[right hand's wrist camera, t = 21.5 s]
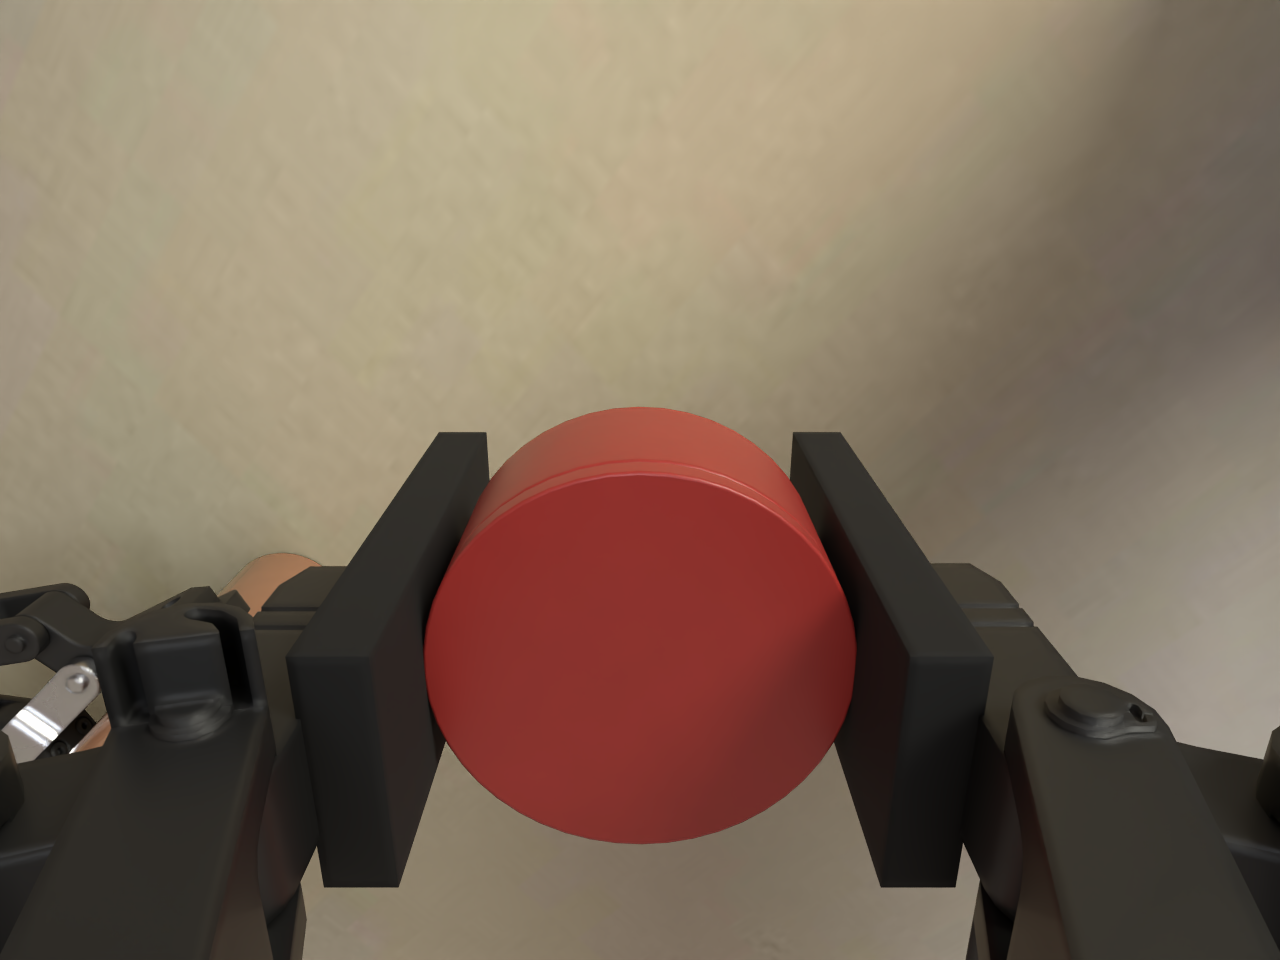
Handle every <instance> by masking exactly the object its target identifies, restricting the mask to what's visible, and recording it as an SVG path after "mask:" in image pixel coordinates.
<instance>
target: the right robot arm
mask: <svg viewBox="0 0 1280 960" xmlns="http://www.w3.org/2000/svg"><path fill="white" fill-rule="evenodd" d="M790 481H791V483H792V484H793V486H794V487H795V489H796V490H797V492H798V493H799V495H800V497H801V499H802V501H803V504H804V506H805V508H806V510H807V512H808V514H809V516H810V519H811V521H812V523H813V525H814V527H815V530H816V532H817V534H818V536H819V538H820V541H821V543H822V545H823V547H824V549H825V552H826V554H827V556H828V558H829V561H830V563H831V565H832V567H833V569H834V572H835V574H836V576H837V578H838V580H839V583H840V585H841V587H842V589H843V592H844V594H845V596H846V598H847V601H848V605H849V608H850V611H851V615H852V618H853V621H854V627H855V635H856V642H857V653H856V664H855V674H854V683H853V692H852V699H851V702H850V705H849V708H848V712H847V715H846V718H845V720H844V722H843V724H842V726H841V728H840V731H839V733H838V735H837V737H836V739H835V741H834V743H835V747H836V750H837V753H838V756H839V759H840V762H841V765H842V768H843V771H844V774H845V778H846V781H847V784H848V787H849V790H850V793H851V796H852V799H853V802H854V806H855V809H856V812H857V815H858V818H859V821H860V824H861V827H862V830H863V833H864V837H865V840H866V843H867V846H868V849H869V852H870V855H871V858H872V861H873V864H874V868H875V871H876V874H877V877H878V880H879V883H880V886H881V887H956V881H957V875H958V869H959V863H960V857H961V851H962V845H963V843H964V845H965V847H966V850H967V852H968V854H969V856H970V858H971V860H972V863H973V865H974V867H975V869H976V871H977V874H978V876H979V878H980V883H979V888H978V894H977V899H976V905H975V910H974V916H973V921H972V927H971V932H970V938H969V944H968V949H967V955H966V960H1280V726H1279V727H1278V728H1276V729H1275V730H1274V731H1272V734H1271V737H1270V740H1269V744H1268V747H1267V750H1266V753H1265V757H1264V760H1263V759H1258V758H1252V757H1247V756H1242V755H1237V754H1232V753H1227V752H1221V751H1216V750H1211V749H1206V748H1201V747H1195V746H1191V745H1187V744H1183V743H1179V742H1176V740H1175V738H1174V736H1173V734H1172V732H1171V730H1170V728H1169V726H1168V725H1167V724H1166V723H1165V722H1164V720H1163V719H1162V718H1161V717H1160V715H1159V714H1158V713H1157V712H1156V711H1155V710H1154V709H1153V708H1151V707H1150V706H1148V705H1147V704H1145V703H1144V702H1142V701H1141V700H1140V699H1138V698H1137V697H1135V696H1134V695H1132V694H1130V693H1127V692H1125V691H1122V690H1120V689H1118V688H1115V687H1113V686H1110V685H1108V684H1106V683H1102V682H1098V681H1093V680H1089V679H1084V678H1080V677H1078V676H1077V675H1076V674H1075V672H1074V671H1073V670H1072V669H1071V667H1070V666H1069V665H1068V664H1067V663H1066V661H1065V660H1064V659H1063V658H1062V656H1061V655H1060V654H1059V653H1058V651H1057V650H1056V649H1055V648H1054V647H1053V645H1052V644H1051V643H1050V642H1049V640H1048V639H1047V638H1046V637H1045V636H1044V634H1043V633H1042V632H1041V631H1040V629H1039V628H1038V627H1034V625H1033V621H1032V620H1031V618H1030V617H1029V616H1028V615H1027V614H1026V612H1025V611H1024V610H1023V609H1022V608H1019V604H1018V602H1017V601H1016V600H1015V599H1014V598H1013V596H1012V595H1011V594H1010V593H1009V591H1008V590H1007V589H1006V588H1005V587H1004V585H1003V584H1002V583H1001V582H1000V581H998V580H996V579H995V578H993V577H991V576H990V575H988V574H986V573H985V572H983V571H981V570H980V569H978V568H976V567H975V566H973V565H971V564H930V562H929V561H928V559H927V558H926V556H925V555H924V554H923V552H922V551H921V549H920V548H919V546H918V545H917V543H916V542H915V540H914V539H913V538H912V536H911V535H910V533H909V532H908V530H907V529H906V527H905V526H904V524H903V523H902V521H901V520H900V519H899V517H898V516H897V514H896V513H895V511H894V510H893V508H892V507H891V505H890V504H889V503H888V501H887V500H886V498H885V497H884V495H883V494H882V492H881V491H880V489H879V488H878V486H877V485H876V484H875V482H874V481H873V479H872V478H871V476H870V475H869V473H868V472H867V470H866V469H865V468H864V466H863V465H862V463H861V462H860V460H859V459H858V457H857V456H856V454H855V453H854V451H853V450H852V449H851V447H850V446H849V444H848V443H847V441H846V440H845V438H844V437H843V435H842V434H841V433H840V432H793V441H792V457H791V472H790ZM488 483H489V465H488V450H487V435H486V432H439V433H438V435H437V436H436V437H435V439H434V440H433V442H432V443H431V445H430V446H429V448H428V449H427V451H426V452H425V454H424V455H423V456H422V458H421V459H420V461H419V462H418V464H417V465H416V467H415V468H414V470H413V471H412V472H411V474H410V475H409V477H408V478H407V480H406V481H405V483H404V484H403V486H402V487H401V489H400V490H399V491H398V493H397V494H396V496H395V497H394V499H393V500H392V502H391V503H390V505H389V506H388V507H387V509H386V510H385V512H384V513H383V515H382V516H381V518H380V519H379V521H378V522H377V524H376V525H375V526H374V528H373V529H372V531H371V532H370V534H369V535H368V537H367V538H366V540H365V541H364V542H363V544H362V545H361V547H360V548H359V550H358V551H357V553H356V554H355V556H354V557H353V559H352V560H351V561H350V563H349V564H348V566H310V567H308V568H307V569H305V570H303V571H302V572H300V573H298V574H297V575H295V576H293V577H292V578H290V579H288V580H287V581H285V582H283V583H282V584H280V585H279V586H278V587H277V588H276V589H275V591H274V592H273V593H272V594H271V596H270V597H269V598H268V599H267V601H266V602H265V603H264V604H263V605H262V607H261V611H258V612H257V613H256V614H255V615H254V617H252V616H251V615H250V614H249V613H247V612H246V611H245V610H243V609H242V608H240V607H237V606H233V605H228V604H223V603H218V602H216V603H188V604H183V605H178V606H173V607H167V608H162V609H158V610H155V611H152V612H150V613H147V614H144V615H141V616H138V617H135V618H133V619H130V620H128V621H126V622H125V623H123V624H121V625H119V626H118V627H116V628H114V629H112V630H111V631H109V632H107V633H106V634H105V635H104V636H103V637H102V638H101V639H100V640H99V641H98V642H97V643H96V644H95V645H94V646H93V647H92V648H91V652H92V656H93V660H94V664H95V667H96V671H97V675H98V679H99V683H100V687H101V691H102V694H103V698H104V702H105V706H106V710H107V714H108V717H109V721H110V725H111V730H110V732H109V734H108V736H107V738H106V740H105V742H104V744H103V746H100V747H96V748H92V749H88V750H84V751H79V752H74V753H69V754H63V755H58V756H53V757H48V758H43V759H38V760H33V761H27V762H22V763H17V762H16V759H15V756H14V753H13V749H12V746H11V743H10V740H9V736H8V735H7V734H5V733H4V732H3V731H1V730H0V960H302V954H303V946H304V938H305V929H306V921H307V919H306V912H305V905H304V899H303V894H302V888H301V883H300V881H301V879H302V877H303V875H304V872H305V870H306V868H307V866H308V864H309V862H310V859H311V857H312V855H313V853H314V851H315V848H316V846H317V848H318V854H319V860H320V866H321V872H322V878H323V884H324V887H399V884H400V881H401V878H402V875H403V872H404V869H405V866H406V863H407V860H408V857H409V853H410V850H411V847H412V844H413V841H414V838H415V835H416V832H417V829H418V825H419V822H420V819H421V816H422V813H423V810H424V807H425V804H426V801H427V798H428V794H429V791H430V788H431V785H432V782H433V779H434V776H435V773H436V770H437V767H438V763H439V760H440V757H441V754H442V751H443V748H444V745H445V742H446V740H445V738H444V736H443V734H442V732H441V730H440V728H439V726H438V724H437V722H436V719H435V716H434V714H433V711H432V708H431V705H430V702H429V699H428V694H427V688H426V679H425V669H424V657H423V645H424V637H425V628H426V623H427V620H428V616H429V613H430V609H431V605H432V602H433V599H434V597H435V595H436V593H437V591H438V588H439V586H440V584H441V582H442V579H443V577H444V575H445V573H446V571H447V568H448V566H449V564H450V562H451V559H452V557H453V555H454V553H455V550H456V548H457V546H458V544H459V542H460V539H461V537H462V535H463V533H464V530H465V528H466V526H467V524H468V522H469V519H470V517H471V515H472V513H473V510H474V508H475V506H476V504H477V502H478V499H479V497H480V495H481V494H482V492H483V491H484V489H485V488H486V486H487V485H488Z"/></svg>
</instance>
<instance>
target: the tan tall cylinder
mask: <svg viewBox="0 0 1280 960" xmlns="http://www.w3.org/2000/svg"><path fill="white" fill-rule="evenodd" d="M310 566H321V565H319V564H318V563H316V562H314V561H312V560H310V559H308V558H305V557H302V556H299V555H295V554H287V553H276V554H269V555H265V556H262V557H259V558H257V559H255V560H253V561H251V562H250V563H248V564H247V565H246V566H245V567H244V568H243V569H242V570H241V571H240V572H239V573H238V574H237V575H236V576H235V577H234V578H233V579H232V580H231V581H230V582H229V583H228V585H227V586H226V587H225V588H224V589H223V590H222V591H221V592H220V593H219V594H218V595H217V597H219V596H221V595H223V594H225V593H227V592H230V591H232V590H237V591H238V592H239V594H240V595H241V596H242V598H243V599H244V600H245V602H246V603H247V604H248V606H249V607H250V611H249V612H248V613H249V614H250V615H251V616H252V617H254V615H255V614H256V613H257V612H258V611H261V607H262V605H263V604H264V603H265V602H266V601H267V599H268V598H269V597H270V596H271V594H272V593H273V592H274V591H275V589H276V588H277V587H278V586H279V585H280V584H282V583H283V582H285V581H287V580H288V579H290V578H292V577H293V576H295V575H297V574H298V573H300V572H302V571H303V570H305V569H307V568H308V567H310ZM110 730H111V725H110V721H109V717H108V714H107V713H106V714H105V715H104V716H103V717H102V718H101V719H100V720H99V721H98V722H97V724H96V725H95V726H94V727H93V728H92V729H91V730H90V731H89V732H88V733H87V734H86V735H85V736H84V737H83V738H82V739H81V741H80V742H79V743H78V744H77V745H76V746H75V747H74V748H73V749H72V750H71V751H70V752H69V753H74V752H79V751H84V750H88V749H92V748H96V747H100V746H103V744H104V742H105V740H106V738H107V736H108V734H109V732H110ZM69 753H68V754H69Z"/></svg>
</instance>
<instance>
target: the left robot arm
mask: <svg viewBox="0 0 1280 960" xmlns="http://www.w3.org/2000/svg"><path fill="white" fill-rule="evenodd" d="M216 602H218V603H223V604H228V605H233V606H237V607H240V608H242V609H243V610H245V611H246V612H247V613H248V612H249V611H250V607H249V606H248V604H247V603H246V602H245V600H244V599H243V598H242V596H241V595H240V594H239V592H238V591H237V590H232V591H230V592H227V593H225V594H223V595H221V596H219V597H217V595H216V594H215V593H214V592H213V590H212V589H211V588H210V586H207V587H194V588H190V589H188V590H186V591H184V592H182V593H180V594H178V595H176V596H175V597H172V598H170V599H168V600H166V601H164V602H162V603H160V604H158V605H156V606H154V607H152V608H150V609H148V610H146V611H144V612H142V613H139V614H137V615H135V616H133V617H131V618H129V619H127V620H124V621H110V620H106V619H104V618H102V617H100V616H98V615H97V614H95V613H94V612H92V611H91V610H89V609H90V601H89V598H88V596H87V594H86V593H85V592H84V591H83V590H82V589H81V588H79V587H77V586H75V585H73V584H69V583H61V584H55V585H49V586H43V587H37V588H31V589H24V590H18V591H12V592H6V593H0V666H2V665H8V664H15V663H21V662H27V661H30V660H32V659H34V658H35V659H36V660H38V661H39V662H41V663H42V664H44V665H46V666H47V667H49V668H50V669H52V670H53V671H55V672H56V674H55V675H54V676H53V677H52V679H51V680H50V681H49V682H48V683H47V684H46V685H45V686H44V687H43V688H42V689H41V690H40V691H39V692H38V693H37V694H36V696H35V697H34V698H33V699H30V698H23V697H15V696H8V695H1V694H0V730H1V731H3V732H4V733H5V734H7V735H8V736H9V740H10V743H11V746H12V749H13V753H14V756H15V759H16V762H17V763H22V762H27V761H33V760H38V759H43V758H48V757H53V756H58V755H63V754H68V753H69V752H70V751H71V750H72V749H73V748H74V747H75V746H76V745H77V744H78V743H79V742H80V741H81V739H82V738H83V737H84V736H85V735H86V734H87V733H88V732H89V731H90V730H91V729H92V728H93V727H94V726H95V725H96V724H97V723H96V722H95V721H94V720H93V719H92V717H91V716H90V715H89V714H88V713H87V712H86V711H85V708H86V707H87V706H88V705H89V704H90V703H91V702H92V701H93V700H94V699H95V698H96V697H97V696H98V695H99V694H100V693H101V692H102V691H101V687H100V683H99V679H98V675H97V671H96V667H95V664H94V660H93V656H92V652H91V648H92V647H93V646H94V645H95V644H96V643H97V642H98V641H99V640H100V639H101V638H102V637H103V636H104V635H105V634H106V633H107V632H109V631H111V630H112V629H114V628H116V627H118V626H119V625H121V624H123V623H125V622H126V621H128V620H130V619H133V618H135V617H138V616H141V615H144V614H147V613H150V612H152V611H155V610H158V609H162V608H167V607H173V606H178V605H183V604H188V603H216Z"/></svg>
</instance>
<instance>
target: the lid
mask: <svg viewBox="0 0 1280 960" xmlns="http://www.w3.org/2000/svg"><path fill="white" fill-rule="evenodd" d="M856 653H857V642H856V635H855V627H854V621H853V618H852V615H851V611H850V608H849V605H848V601H847V598H846V596H845V594H844V592H843V589H842V587H841V585H840V583H839V580H838V578H837V576H836V574H835V572H834V569H833V567H832V565H831V563H830V561H829V558H828V556H827V554H826V552H825V549H824V547H823V545H822V543H821V541H820V538H819V536H818V534H817V532H816V530H815V527H814V525H813V523H812V521H811V519H810V516H809V514H808V512H807V510H806V508H805V506H804V504H803V501H802V499H801V497H800V495H799V493H798V492H797V490H796V489H795V487H794V486H793V484H792V483H791V481H790V480H789V478H788V477H787V475H786V474H785V473H784V472H783V471H782V470H781V469H780V468H779V466H778V465H777V464H776V463H775V462H774V461H773V460H772V459H771V458H770V457H769V456H768V455H767V454H766V453H764V452H763V451H762V450H761V449H760V448H758V447H757V446H756V445H755V444H754V443H752V442H751V441H749V440H748V439H746V438H744V437H743V436H741V435H740V434H738V433H737V432H735V431H734V430H731V429H729V428H727V427H725V426H723V425H721V424H719V423H716V422H714V421H712V420H709V419H706V418H703V417H700V416H697V415H694V414H691V413H687V412H681V411H676V410H671V409H665V408H651V407H629V408H615V409H609V410H604V411H599V412H594V413H589V414H586V415H583V416H580V417H577V418H574V419H571V420H568V421H565V422H563V423H561V424H559V425H557V426H555V427H553V428H551V429H549V430H547V431H545V432H543V433H542V434H540V435H539V436H537V437H536V438H534V439H533V440H531V441H530V442H528V443H527V444H525V445H524V446H523V447H521V448H520V449H519V450H518V451H517V452H516V453H515V454H514V455H512V456H511V457H510V458H509V459H508V460H507V461H506V462H505V463H504V464H503V465H502V467H501V468H500V469H499V470H498V471H497V472H496V474H495V475H494V476H493V477H492V478H491V480H490V481H489V483H488V485H487V486H486V488H485V489H484V491H483V492H482V494H481V495H480V497H479V499H478V502H477V504H476V506H475V508H474V510H473V513H472V515H471V517H470V519H469V522H468V524H467V526H466V528H465V530H464V533H463V535H462V537H461V539H460V542H459V544H458V546H457V548H456V550H455V553H454V555H453V557H452V559H451V562H450V564H449V566H448V568H447V571H446V573H445V575H444V577H443V579H442V582H441V584H440V586H439V588H438V591H437V593H436V595H435V597H434V599H433V602H432V605H431V609H430V613H429V616H428V620H427V623H426V628H425V637H424V645H423V657H424V669H425V679H426V688H427V694H428V699H429V702H430V705H431V708H432V711H433V714H434V716H435V719H436V722H437V724H438V726H439V728H440V730H441V732H442V734H443V736H444V738H445V740H446V742H447V744H448V745H449V747H450V748H451V750H452V751H453V752H454V754H455V755H456V757H457V758H458V759H459V761H460V762H461V764H462V765H463V766H464V767H465V768H466V769H467V770H468V771H469V773H470V774H471V775H472V776H473V777H474V778H475V779H476V780H477V781H478V782H479V783H480V784H481V785H482V786H483V787H485V788H486V789H487V790H488V791H489V792H491V793H492V794H493V795H494V796H495V797H496V798H498V799H499V800H501V801H502V802H504V803H505V804H507V805H508V806H510V807H511V808H513V809H514V810H516V811H517V812H519V813H521V814H523V815H525V816H527V817H529V818H531V819H533V820H535V821H537V822H539V823H541V824H543V825H546V826H549V827H551V828H554V829H557V830H559V831H562V832H565V833H568V834H572V835H576V836H580V837H584V838H587V839H592V840H599V841H606V842H612V843H626V844H654V843H669V842H675V841H681V840H687V839H693V838H697V837H701V836H704V835H708V834H712V833H715V832H719V831H721V830H724V829H726V828H729V827H732V826H734V825H737V824H739V823H742V822H744V821H746V820H748V819H749V818H751V817H753V816H755V815H757V814H759V813H761V812H763V811H765V810H766V809H768V808H769V807H770V806H772V805H773V804H775V803H776V802H778V801H779V800H781V799H782V798H784V797H785V796H786V795H787V794H789V793H790V792H791V791H792V790H793V789H794V788H795V787H797V786H798V785H799V784H800V783H801V782H802V781H803V780H804V779H805V778H806V777H807V776H808V775H809V774H810V773H811V772H812V771H813V769H814V768H815V767H816V766H817V765H818V764H819V763H820V761H821V760H822V759H823V757H824V756H825V754H826V753H827V751H828V750H829V748H830V747H831V745H832V744H833V742H834V741H835V739H836V737H837V735H838V733H839V731H840V728H841V726H842V724H843V722H844V720H845V718H846V715H847V712H848V708H849V705H850V702H851V699H852V692H853V683H854V674H855V664H856Z"/></svg>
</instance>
